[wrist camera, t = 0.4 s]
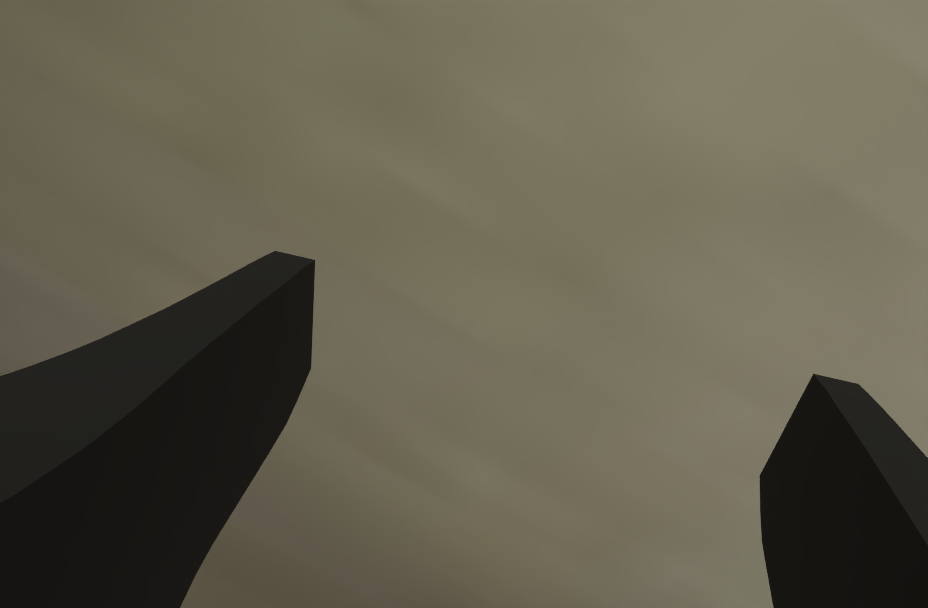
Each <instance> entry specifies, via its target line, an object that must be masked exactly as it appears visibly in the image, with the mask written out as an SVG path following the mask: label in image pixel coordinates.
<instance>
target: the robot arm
mask: <svg viewBox="0 0 928 608" xmlns="http://www.w3.org/2000/svg"><path fill="white" fill-rule="evenodd" d="M314 273H315V260H312V259H308V258H304V257H299V256H295V255H291V254H286V253H282V252H277V251H274V252H272V253H270V254H268V255H266V256H264V257H262V258H260V259H258V260H256V261H254V262H252V263H250V264H248V265H247V266H245V267H243V268H241V269H239V270H237V271H236V272H234V273H232V274H230V275H228V276H226V277H224V278H223V279H221V280H219V281H217V282H215V283H213V284H211V285H210V286H208V287H206V288H204V289H202V290H200V291H198V292H196V293H194V294H192V295H190V296H189V297H187V298H185V299H183V300H181V301H179V302H177V303H175V304H173V305H171V306H169V307H167V308H165V309H163V310H161V311H159V312H157V313H155V314H153V315H151V316H148V317H146V318H144V319H142V320H140V321H138V322H136V323H133V324H131V325H129V326H127V327H125V328H123V329H120V330H118V331H116V332H114V333H112V334H110V335H108V336H105V337H103V338H101V339H99V340H96V341H94V342H92V343H89V344H87V345H85V346H82V347H80V348H77V349H74V350H72V351H69V352H67V353H64V354H62V355H59V356H56V357H54V358H51V359H48V360H45V361H43V362H40V363H37V364H35V365H32V366H29V367H26V368H24V369H21V370H18V371H15V372H12V373H9V374H6V375H3V376H0V608H180V606H181V604H182V602H183V600H184V598H185V596H186V594H187V592H188V590H189V588H190V586H191V583H192V581H193V579H194V577H195V575H196V573H197V571H198V569H199V568H200V566H201V564H202V562H203V561H204V559H205V557H206V555H207V553H208V552H209V550H210V548H211V546H212V544H213V543H214V541H215V540H216V538H217V536H218V535H219V533H220V531H221V530H222V528H223V527H224V525H225V523H226V522H227V520H228V518H229V517H230V515H231V514H232V512H233V510H234V509H235V507H236V506H237V504H238V502H239V501H240V499H241V497H242V496H243V494H244V493H245V491H246V489H247V488H248V486H249V485H250V483H251V481H252V480H253V478H254V476H255V475H256V473H257V472H258V470H259V468H260V467H261V465H262V463H263V462H264V460H265V459H266V457H267V455H268V454H269V452H270V450H271V449H272V447H273V445H274V444H275V442H276V440H277V439H278V437H279V435H280V434H281V432H282V430H283V429H284V427H285V425H286V424H287V421H288V419H289V417H290V415H291V413H292V411H293V408H294V406H295V404H296V402H297V400H298V397H299V395H300V393H301V390H302V388H303V386H304V383H305V381H306V379H307V376H308V374H309V372H310V369H311V354H312V327H313V300H314ZM760 512H761V531H762V544H763V550H764V556H765V562H766V567H767V573H768V579H769V584H770V590H771V596H772V601H773V607H774V608H928V458H927V457H926V456H925V455H924V453H923V452H922V451H921V450H920V449H919V448H918V447H917V446H916V445H915V443H914V442H913V441H912V440H911V439H910V438H909V437H908V436H907V435H906V433H905V432H904V431H903V430H902V429H901V428H900V427H899V426H898V425H897V424H896V422H895V421H894V420H893V419H892V418H891V417H890V416H889V415H888V414H887V413H886V412H885V410H884V409H883V408H882V407H881V406H880V405H879V404H878V403H877V402H876V401H875V400H874V399H873V398H872V397H871V396H870V395H869V394H868V393H867V392H866V391H865V390H864V389H863V388H862V387H861V386H860V385H859V384H856V383H851V382H847V381H843V380H838V379H834V378H829V377H825V376H821V375H816V374H813V376H812V378H811V380H810V381H809V383H808V385H807V387H806V389H805V391H804V393H803V395H802V397H801V399H800V400H799V402H798V404H797V406H796V408H795V410H794V412H793V414H792V416H791V417H790V419H789V421H788V423H787V425H786V427H785V429H784V431H783V433H782V435H781V436H780V438H779V440H778V442H777V444H776V446H775V448H774V450H773V452H772V453H771V455H770V457H769V459H768V461H767V463H766V465H765V467H764V469H763V471H762V472H761V474H760Z"/></svg>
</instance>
